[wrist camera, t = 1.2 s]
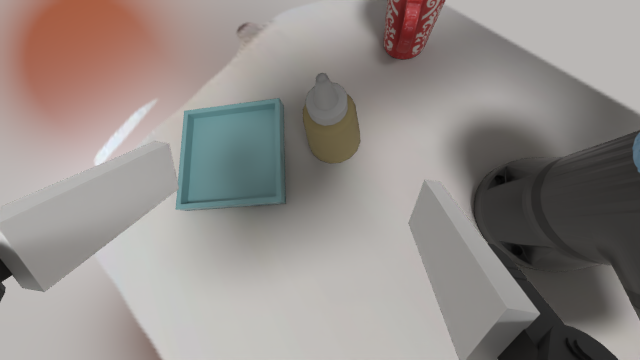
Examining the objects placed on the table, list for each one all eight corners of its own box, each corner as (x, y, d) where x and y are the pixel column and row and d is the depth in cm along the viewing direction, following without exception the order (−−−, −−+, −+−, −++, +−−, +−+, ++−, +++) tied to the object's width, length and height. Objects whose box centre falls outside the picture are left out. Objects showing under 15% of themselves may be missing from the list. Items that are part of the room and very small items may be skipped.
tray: (283, 105, 42) (279, 98, 40) (285, 203, 38) (281, 201, 36) (193, 117, 44) (184, 110, 42) (186, 210, 40) (175, 209, 38)
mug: (385, 18, 43) (399, -74, 30) (435, 25, 41) (473, -70, 28) (366, 76, 41) (373, 4, 28) (418, 86, 39) (451, 13, 26)
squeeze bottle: (368, 138, 38) (381, 60, 21) (344, 178, 38) (336, 132, 20) (328, 117, 40) (309, 30, 23) (303, 155, 39) (264, 95, 22)
